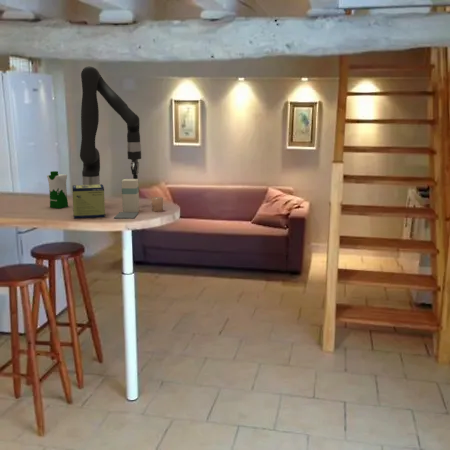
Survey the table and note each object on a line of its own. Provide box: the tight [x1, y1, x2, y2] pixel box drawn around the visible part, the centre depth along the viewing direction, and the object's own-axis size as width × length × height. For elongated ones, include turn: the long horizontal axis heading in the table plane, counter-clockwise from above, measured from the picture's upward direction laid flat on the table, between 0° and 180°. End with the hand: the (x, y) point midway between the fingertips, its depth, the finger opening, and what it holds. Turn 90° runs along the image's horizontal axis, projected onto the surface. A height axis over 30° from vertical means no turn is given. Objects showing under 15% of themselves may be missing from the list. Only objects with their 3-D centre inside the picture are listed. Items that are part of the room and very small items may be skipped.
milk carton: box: [46, 170, 69, 209], centre depth 293 cm, size 9×9×20 cm
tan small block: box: [151, 196, 164, 213], centre depth 286 cm, size 6×6×7 cm
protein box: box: [72, 183, 106, 220], centre depth 270 cm, size 10×16×16 cm
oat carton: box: [121, 178, 140, 212], centre depth 283 cm, size 8×8×17 cm
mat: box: [113, 211, 140, 220], centre depth 273 cm, size 10×14×1 cm
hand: (135, 181), depth 297 cm, fingers closed
